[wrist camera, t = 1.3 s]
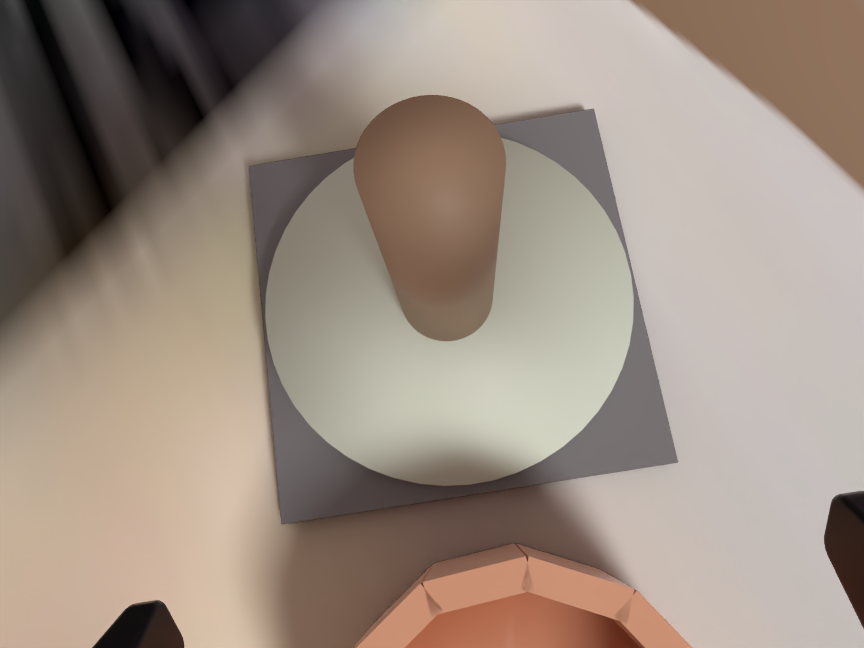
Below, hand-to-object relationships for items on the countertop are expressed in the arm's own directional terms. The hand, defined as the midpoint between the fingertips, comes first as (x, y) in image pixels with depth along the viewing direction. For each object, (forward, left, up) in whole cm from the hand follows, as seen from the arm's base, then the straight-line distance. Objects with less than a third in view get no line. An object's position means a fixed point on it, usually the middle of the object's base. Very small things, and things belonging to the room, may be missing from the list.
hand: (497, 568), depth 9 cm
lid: (+4, +6, -12) cm, 14 cm away
